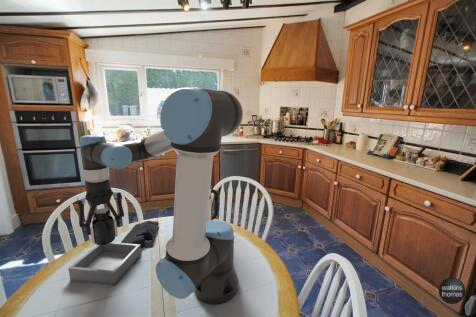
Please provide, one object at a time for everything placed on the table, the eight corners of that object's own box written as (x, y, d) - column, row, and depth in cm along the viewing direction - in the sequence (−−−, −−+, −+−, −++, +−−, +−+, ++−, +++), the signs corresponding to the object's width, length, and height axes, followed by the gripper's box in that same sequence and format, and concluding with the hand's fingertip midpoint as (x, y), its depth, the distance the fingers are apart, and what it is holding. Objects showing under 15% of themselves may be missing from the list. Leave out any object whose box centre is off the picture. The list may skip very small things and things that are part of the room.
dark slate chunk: (164, 225, 123) (163, 216, 122) (151, 250, 101) (151, 240, 100) (134, 225, 122) (133, 217, 121) (115, 251, 100) (114, 241, 99)
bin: (141, 255, 97) (140, 244, 96) (115, 285, 80) (113, 273, 79) (103, 251, 99) (102, 241, 98) (70, 280, 83) (68, 268, 81)
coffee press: (214, 244, 105) (214, 180, 98) (179, 244, 105) (176, 180, 99) (218, 225, 122) (218, 169, 115) (188, 225, 122) (185, 169, 115)
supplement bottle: (117, 241, 87) (114, 211, 84) (96, 248, 83) (92, 217, 80) (113, 233, 92) (109, 205, 89) (93, 239, 88) (88, 210, 85)
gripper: (125, 172, 91) (130, 226, 96) (62, 181, 79) (72, 242, 84) (130, 177, 85) (135, 234, 90) (63, 187, 73) (73, 253, 78)
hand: (104, 238), depth 87 cm, fingers closed on supplement bottle, 7 cm apart
